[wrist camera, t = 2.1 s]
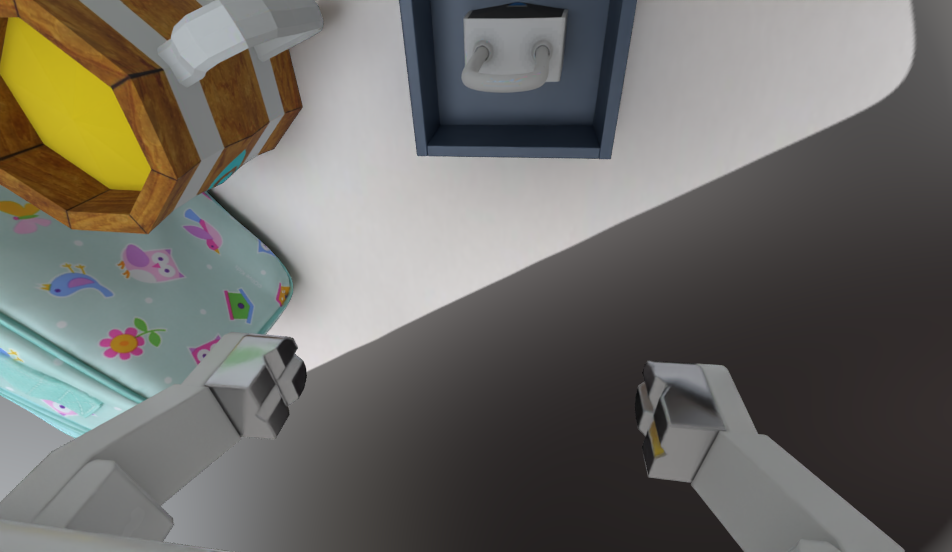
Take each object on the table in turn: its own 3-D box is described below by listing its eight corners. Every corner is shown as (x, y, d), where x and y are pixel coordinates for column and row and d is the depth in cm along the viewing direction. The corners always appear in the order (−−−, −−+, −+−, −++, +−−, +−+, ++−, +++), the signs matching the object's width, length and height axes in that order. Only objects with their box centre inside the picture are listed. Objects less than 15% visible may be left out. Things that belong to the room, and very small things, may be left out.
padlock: (470, 70, 31) (426, 134, 19) (469, 2, 28) (417, 27, 16) (562, 70, 30) (577, 137, 18) (568, 1, 28) (590, 25, 16)
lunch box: (32, 134, 39) (-356, 262, 22) (67, 60, 35) (-389, 150, 18) (265, 313, 50) (123, 492, 33) (316, 275, 45) (181, 460, 28)
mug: (219, 173, 39) (79, 263, 27) (98, 18, 33) (-159, 47, 21) (397, 92, 33) (316, 163, 21) (293, -121, 26) (85, -196, 14)
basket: (634, -96, 25) (655, -110, 20) (601, 133, 33) (610, 159, 29) (413, -85, 27) (387, -95, 22) (432, 131, 35) (416, 156, 30)
